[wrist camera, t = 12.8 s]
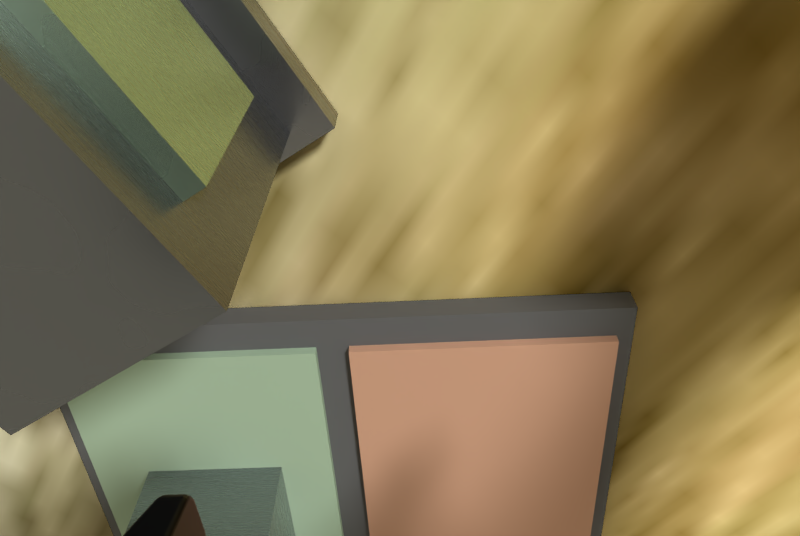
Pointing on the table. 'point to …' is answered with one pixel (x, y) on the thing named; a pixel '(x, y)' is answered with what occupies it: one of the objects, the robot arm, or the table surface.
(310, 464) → the sorting board
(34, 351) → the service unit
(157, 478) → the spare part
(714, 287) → the table surface
